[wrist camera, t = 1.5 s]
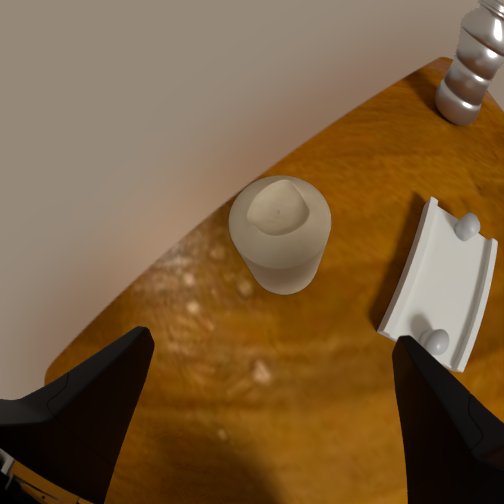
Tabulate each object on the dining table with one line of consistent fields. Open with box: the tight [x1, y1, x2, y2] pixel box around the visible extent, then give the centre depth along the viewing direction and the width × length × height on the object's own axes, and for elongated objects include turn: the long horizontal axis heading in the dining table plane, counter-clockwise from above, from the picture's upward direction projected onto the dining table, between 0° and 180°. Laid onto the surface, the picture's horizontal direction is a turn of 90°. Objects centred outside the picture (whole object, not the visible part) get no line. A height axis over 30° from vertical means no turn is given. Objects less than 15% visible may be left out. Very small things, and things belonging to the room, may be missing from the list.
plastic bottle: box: [434, 0, 504, 126], centre depth 16 cm, size 6×7×20 cm
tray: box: [377, 196, 498, 372], centre depth 18 cm, size 13×9×3 cm
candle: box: [229, 175, 331, 294], centre depth 18 cm, size 6×6×10 cm
